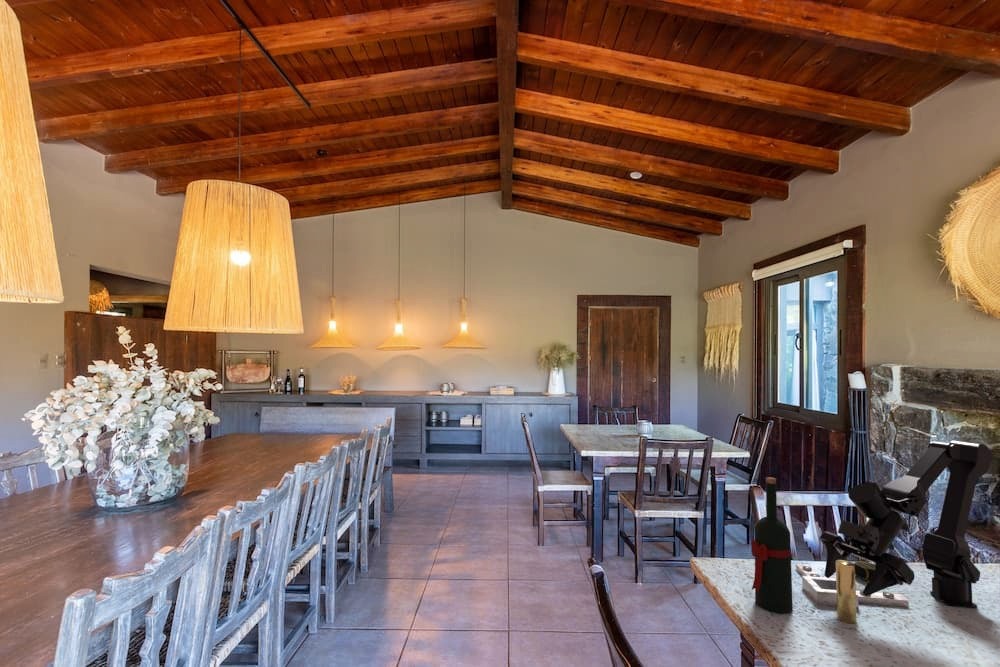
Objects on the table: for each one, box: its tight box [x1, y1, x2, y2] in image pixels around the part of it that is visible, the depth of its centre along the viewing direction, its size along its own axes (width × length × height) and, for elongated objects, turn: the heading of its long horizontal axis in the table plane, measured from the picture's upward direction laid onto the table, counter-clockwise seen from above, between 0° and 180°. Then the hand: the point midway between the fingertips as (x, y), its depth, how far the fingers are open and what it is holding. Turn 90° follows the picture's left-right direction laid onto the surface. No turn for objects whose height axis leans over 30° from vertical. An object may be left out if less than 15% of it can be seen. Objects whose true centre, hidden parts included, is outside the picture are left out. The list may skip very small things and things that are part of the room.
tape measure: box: [854, 560, 875, 582], centre depth 134 cm, size 7×7×4 cm
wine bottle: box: [750, 476, 794, 615], centre depth 119 cm, size 8×10×30 cm
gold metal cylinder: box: [835, 559, 858, 625], centre depth 113 cm, size 4×4×12 cm
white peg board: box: [795, 563, 910, 609], centre depth 128 cm, size 21×21×3 cm
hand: (844, 585), depth 113 cm, fingers open, 9 cm apart
